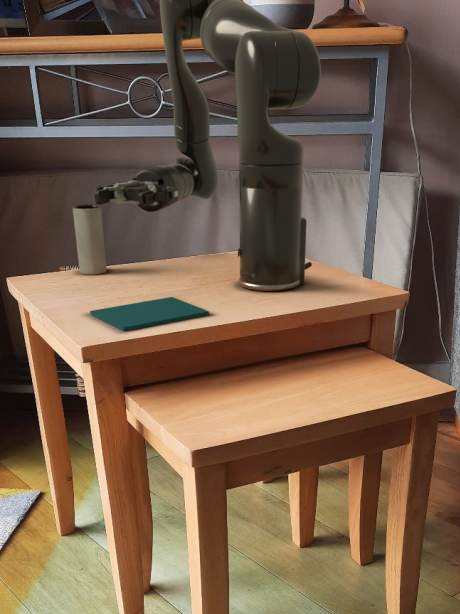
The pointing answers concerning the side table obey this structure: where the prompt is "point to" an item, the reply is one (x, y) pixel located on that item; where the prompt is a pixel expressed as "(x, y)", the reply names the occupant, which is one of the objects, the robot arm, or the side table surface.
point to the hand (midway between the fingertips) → (118, 199)
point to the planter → (90, 239)
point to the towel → (148, 313)
